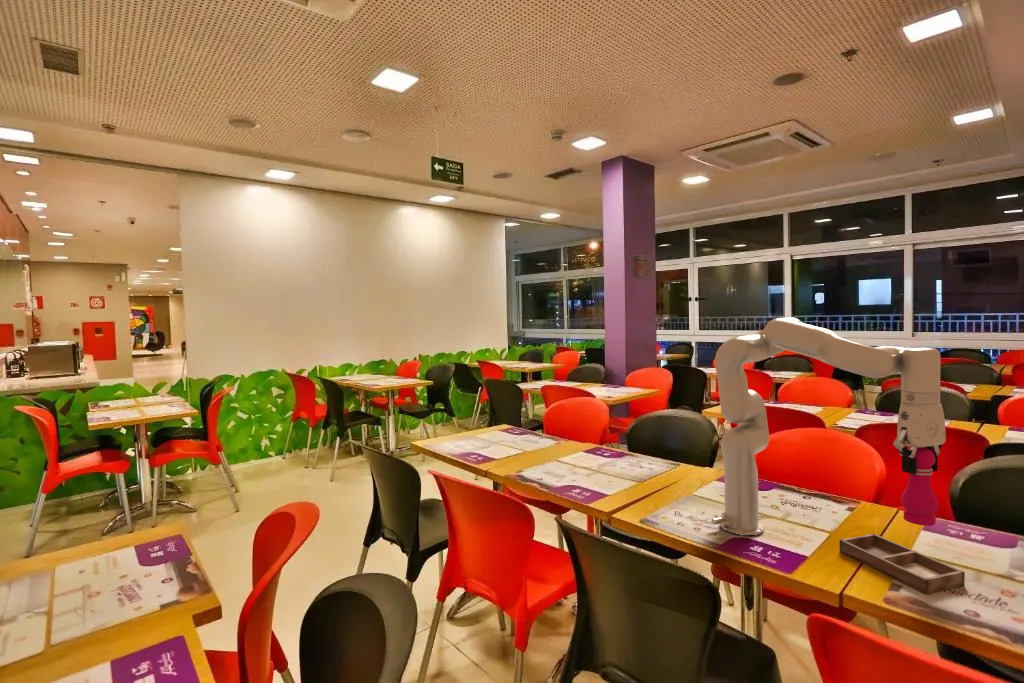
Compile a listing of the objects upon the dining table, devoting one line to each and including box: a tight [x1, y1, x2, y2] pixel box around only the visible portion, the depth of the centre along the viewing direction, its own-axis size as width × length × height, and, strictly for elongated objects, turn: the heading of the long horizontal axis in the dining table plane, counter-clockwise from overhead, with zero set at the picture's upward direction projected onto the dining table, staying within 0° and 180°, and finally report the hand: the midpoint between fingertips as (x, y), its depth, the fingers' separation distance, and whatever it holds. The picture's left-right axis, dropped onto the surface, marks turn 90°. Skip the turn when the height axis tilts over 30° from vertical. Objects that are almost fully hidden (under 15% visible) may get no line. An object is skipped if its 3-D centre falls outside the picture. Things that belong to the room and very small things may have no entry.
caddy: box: [839, 533, 966, 596], centre depth 135 cm, size 12×23×4 cm, turn 15°
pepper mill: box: [900, 447, 939, 527], centre depth 128 cm, size 7×7×20 cm
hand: (919, 470), depth 128 cm, fingers closed on pepper mill, 6 cm apart
